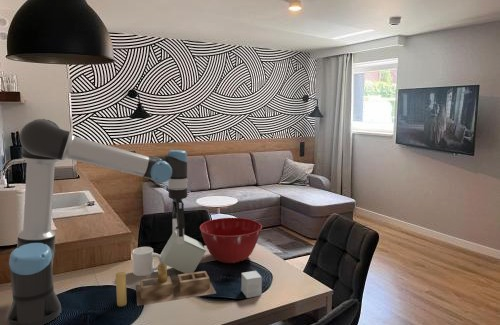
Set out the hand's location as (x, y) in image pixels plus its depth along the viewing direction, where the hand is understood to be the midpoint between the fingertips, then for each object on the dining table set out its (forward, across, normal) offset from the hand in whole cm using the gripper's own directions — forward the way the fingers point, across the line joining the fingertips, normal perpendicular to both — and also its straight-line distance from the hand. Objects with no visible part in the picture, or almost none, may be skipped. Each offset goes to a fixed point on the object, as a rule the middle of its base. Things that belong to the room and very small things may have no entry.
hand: (178, 238), depth 154 cm
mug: (+16, +3, +12) cm, 20 cm away
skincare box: (+15, -26, -24) cm, 38 cm away
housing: (+12, 0, +1) cm, 12 cm away
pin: (+16, -21, +22) cm, 34 cm away
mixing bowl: (+15, +9, -26) cm, 31 cm away
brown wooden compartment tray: (+15, -16, +3) cm, 22 cm away
